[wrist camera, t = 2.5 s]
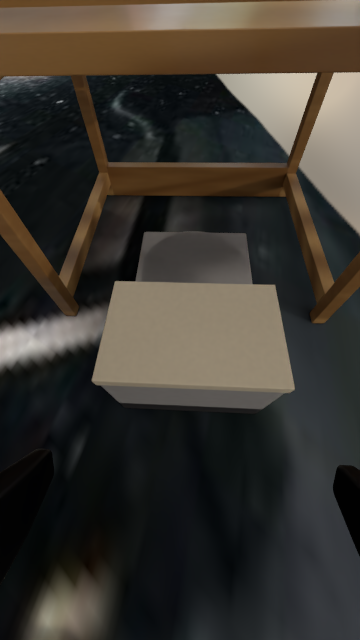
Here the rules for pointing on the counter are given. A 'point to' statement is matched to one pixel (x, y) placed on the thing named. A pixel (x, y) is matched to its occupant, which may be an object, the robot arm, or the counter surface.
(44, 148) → the counter surface
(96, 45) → the shoe rack
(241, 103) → the counter surface
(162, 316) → the grey lidded shoebox
